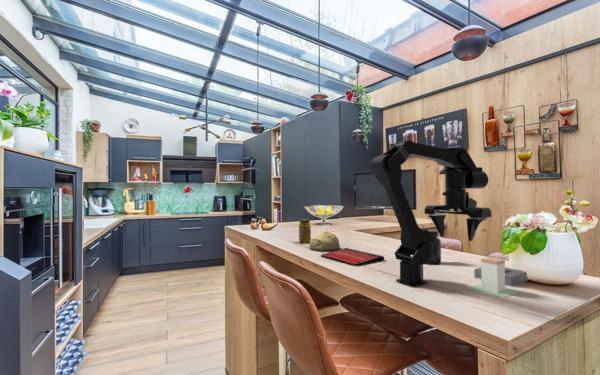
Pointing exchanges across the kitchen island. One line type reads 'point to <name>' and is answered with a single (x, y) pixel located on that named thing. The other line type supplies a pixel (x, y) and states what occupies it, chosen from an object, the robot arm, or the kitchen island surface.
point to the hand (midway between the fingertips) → (455, 238)
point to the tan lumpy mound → (325, 242)
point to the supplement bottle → (435, 248)
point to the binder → (352, 257)
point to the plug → (493, 274)
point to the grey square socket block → (508, 276)
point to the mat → (501, 294)
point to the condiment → (304, 232)
